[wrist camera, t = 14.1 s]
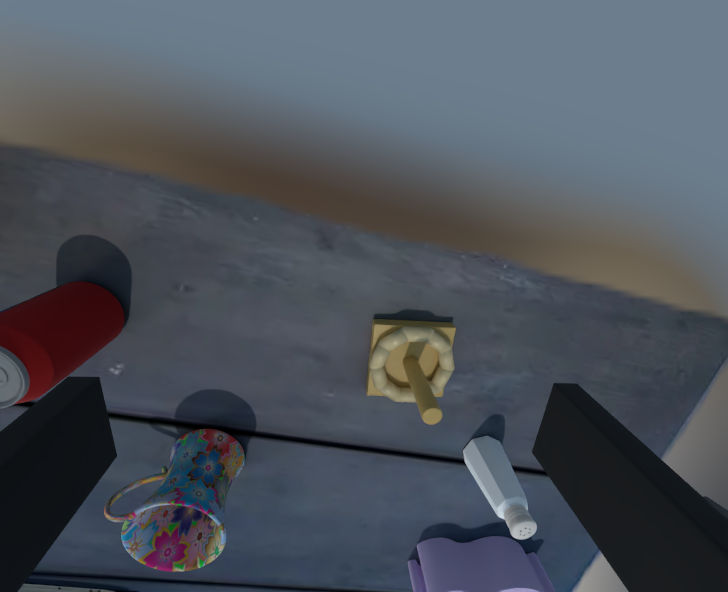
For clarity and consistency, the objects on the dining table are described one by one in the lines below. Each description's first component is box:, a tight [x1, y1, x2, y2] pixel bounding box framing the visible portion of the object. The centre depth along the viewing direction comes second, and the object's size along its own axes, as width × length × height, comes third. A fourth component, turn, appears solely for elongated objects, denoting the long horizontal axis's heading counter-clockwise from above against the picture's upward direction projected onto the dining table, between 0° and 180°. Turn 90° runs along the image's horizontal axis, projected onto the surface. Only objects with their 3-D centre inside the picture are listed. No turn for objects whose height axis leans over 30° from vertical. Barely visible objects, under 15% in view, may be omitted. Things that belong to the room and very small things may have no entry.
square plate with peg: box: [366, 319, 456, 424], centre depth 35 cm, size 9×9×10 cm
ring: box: [369, 326, 455, 402], centre depth 38 cm, size 9×10×2 cm
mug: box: [104, 429, 245, 572], centre depth 37 cm, size 12×9×11 cm
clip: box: [408, 536, 556, 592], centre depth 51 cm, size 20×12×7 cm, turn 71°
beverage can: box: [0, 281, 124, 409], centre depth 29 cm, size 7×7×12 cm
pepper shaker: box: [463, 435, 537, 540], centre depth 41 cm, size 5×5×11 cm
